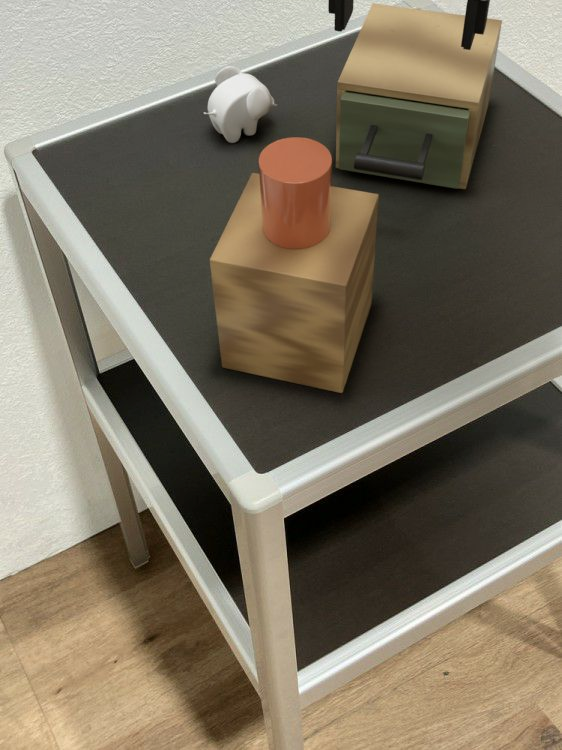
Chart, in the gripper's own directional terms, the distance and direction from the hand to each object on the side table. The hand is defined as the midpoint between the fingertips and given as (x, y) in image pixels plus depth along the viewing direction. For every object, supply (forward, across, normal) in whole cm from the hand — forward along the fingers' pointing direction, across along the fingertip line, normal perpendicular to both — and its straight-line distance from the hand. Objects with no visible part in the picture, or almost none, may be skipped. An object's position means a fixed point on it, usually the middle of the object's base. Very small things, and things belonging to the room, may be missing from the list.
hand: (405, 30), depth 73 cm
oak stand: (+19, +4, +16) cm, 25 cm away
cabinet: (+19, 0, -13) cm, 23 cm away
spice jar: (+7, +4, +15) cm, 18 cm away
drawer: (+18, 0, -8) cm, 20 cm away
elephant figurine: (+20, +17, -10) cm, 28 cm away
